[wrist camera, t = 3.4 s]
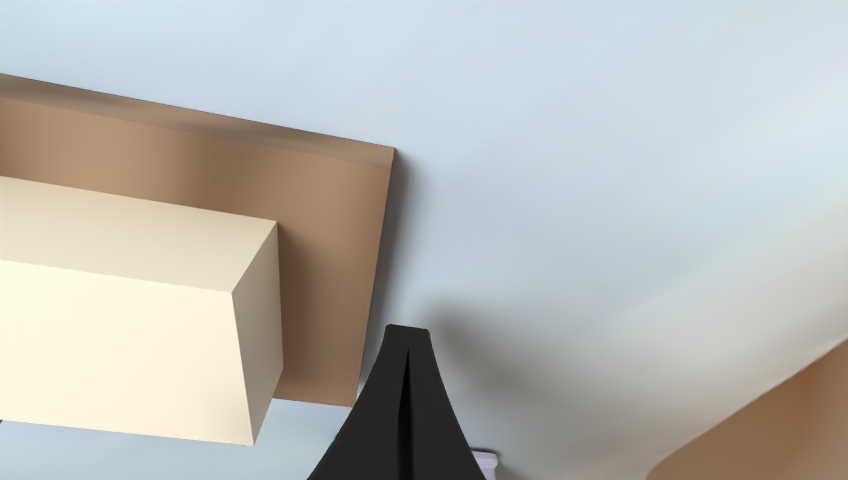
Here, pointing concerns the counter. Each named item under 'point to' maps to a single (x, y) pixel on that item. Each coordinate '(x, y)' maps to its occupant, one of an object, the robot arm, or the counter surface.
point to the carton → (136, 314)
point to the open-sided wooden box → (229, 202)
